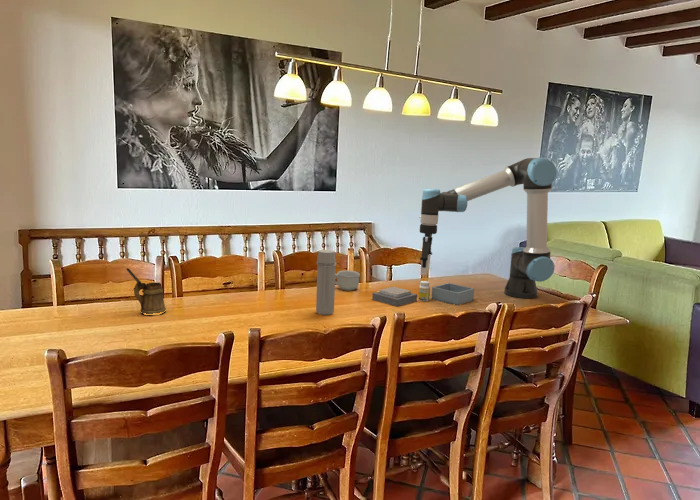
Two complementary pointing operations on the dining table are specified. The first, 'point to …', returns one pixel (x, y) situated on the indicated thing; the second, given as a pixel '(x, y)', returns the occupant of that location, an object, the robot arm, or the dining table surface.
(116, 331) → the dining table surface
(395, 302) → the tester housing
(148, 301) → the wooden mug
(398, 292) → the pad
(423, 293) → the supplement bottle
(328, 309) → the water bottle
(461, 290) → the bin
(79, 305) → the dining table surface
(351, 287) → the teacup
